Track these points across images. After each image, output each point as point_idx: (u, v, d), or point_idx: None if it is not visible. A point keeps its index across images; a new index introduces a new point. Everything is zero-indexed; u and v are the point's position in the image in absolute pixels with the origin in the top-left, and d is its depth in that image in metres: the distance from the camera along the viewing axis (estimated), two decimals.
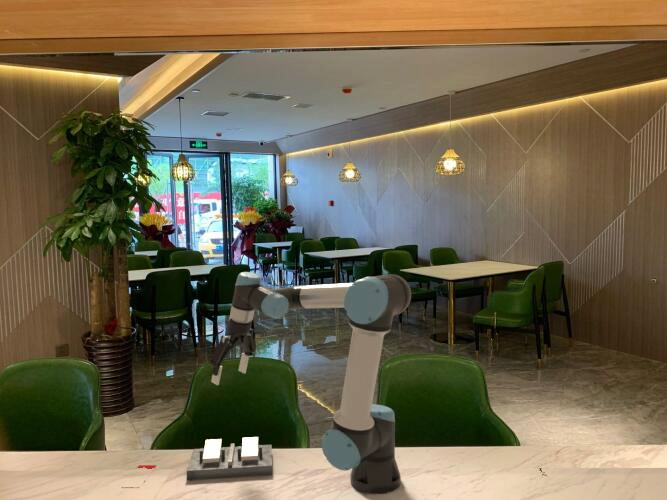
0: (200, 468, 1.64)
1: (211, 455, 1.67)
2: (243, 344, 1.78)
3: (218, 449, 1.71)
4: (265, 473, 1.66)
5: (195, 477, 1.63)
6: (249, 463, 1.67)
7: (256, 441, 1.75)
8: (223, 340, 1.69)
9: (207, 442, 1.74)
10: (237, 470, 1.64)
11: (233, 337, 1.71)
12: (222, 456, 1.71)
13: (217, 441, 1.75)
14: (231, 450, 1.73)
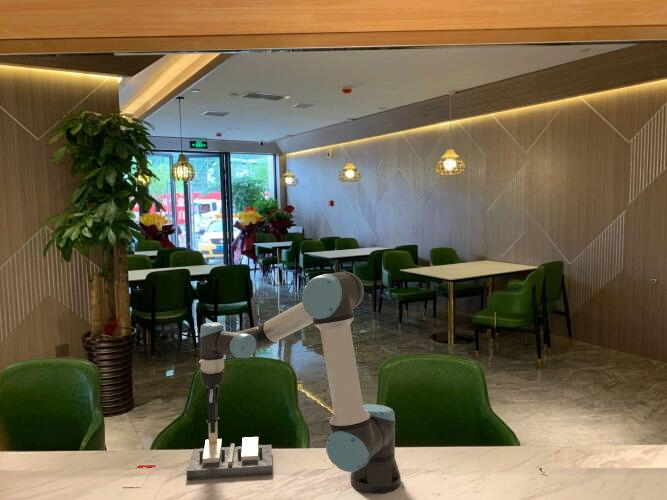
0: (200, 468, 1.64)
1: (211, 455, 1.67)
2: None
3: (218, 449, 1.71)
4: (265, 473, 1.66)
5: (195, 477, 1.63)
6: (249, 463, 1.67)
7: (256, 441, 1.75)
8: (211, 401, 1.69)
9: (207, 442, 1.74)
10: (237, 470, 1.64)
11: (214, 390, 1.71)
12: (222, 456, 1.71)
13: (217, 441, 1.75)
14: (231, 450, 1.73)
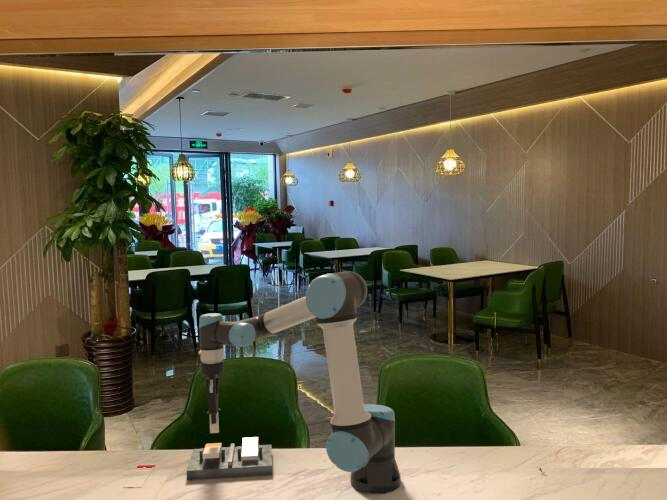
0: (200, 468, 1.64)
1: (211, 451, 1.68)
2: None
3: (218, 448, 1.71)
4: (265, 473, 1.66)
5: (195, 477, 1.63)
6: (249, 463, 1.67)
7: (256, 441, 1.75)
8: (211, 391, 1.68)
9: (207, 445, 1.74)
10: (237, 470, 1.64)
11: (215, 380, 1.71)
12: (222, 456, 1.71)
13: (217, 444, 1.75)
14: (231, 450, 1.73)
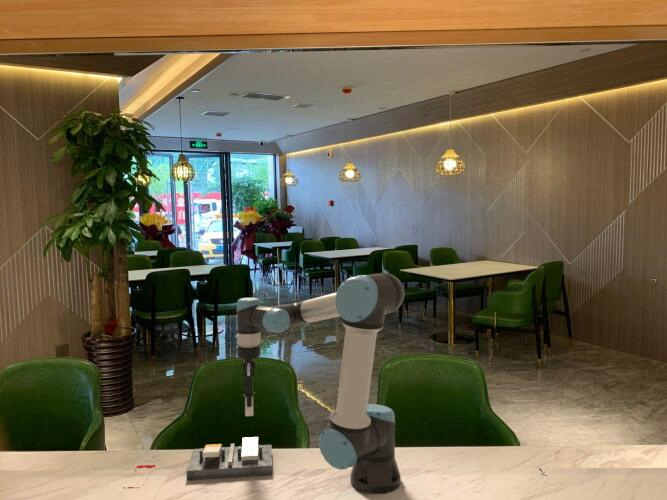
0: (200, 468, 1.64)
1: (211, 451, 1.68)
2: None
3: (218, 448, 1.71)
4: (265, 473, 1.66)
5: (195, 477, 1.63)
6: (249, 463, 1.67)
7: (256, 441, 1.75)
8: (248, 375, 1.70)
9: (207, 446, 1.74)
10: (237, 470, 1.64)
11: (251, 364, 1.72)
12: (222, 456, 1.71)
13: (217, 445, 1.75)
14: (231, 450, 1.73)
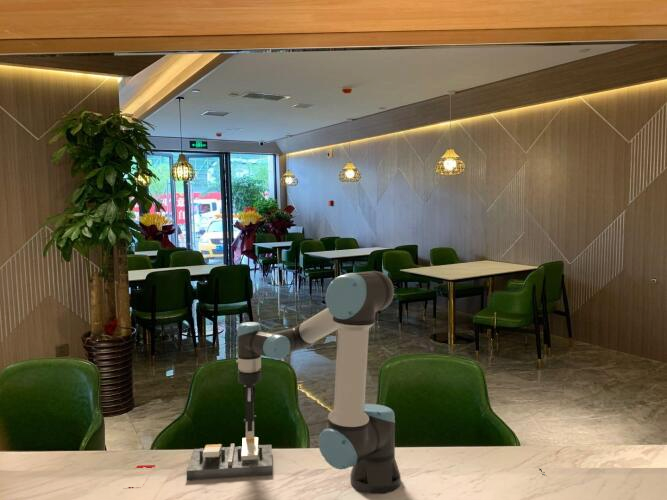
0: (200, 468, 1.64)
1: (211, 450, 1.68)
2: None
3: (218, 448, 1.71)
4: (265, 473, 1.66)
5: (195, 477, 1.63)
6: (249, 463, 1.67)
7: (256, 441, 1.75)
8: (249, 400, 1.70)
9: (207, 446, 1.74)
10: (237, 470, 1.64)
11: (252, 389, 1.73)
12: (222, 456, 1.71)
13: (217, 445, 1.75)
14: (231, 450, 1.73)
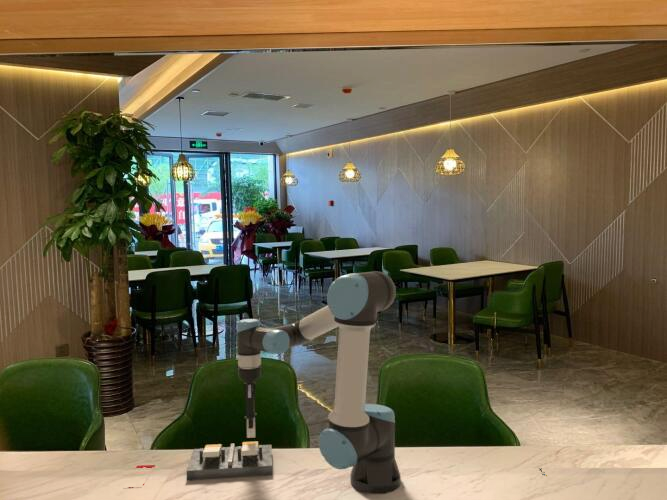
0: (200, 468, 1.64)
1: (211, 450, 1.68)
2: None
3: (218, 448, 1.71)
4: (265, 473, 1.66)
5: (195, 477, 1.63)
6: (249, 463, 1.67)
7: (256, 443, 1.75)
8: (249, 396, 1.70)
9: (207, 446, 1.74)
10: (237, 470, 1.64)
11: (252, 386, 1.72)
12: (222, 456, 1.71)
13: (217, 445, 1.75)
14: (231, 450, 1.73)
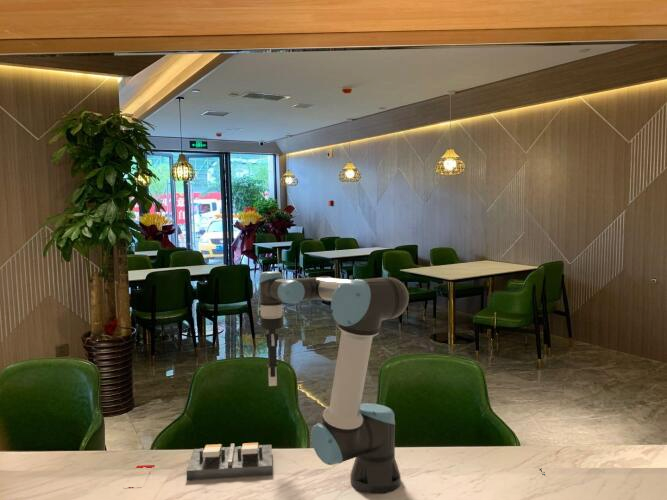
0: (200, 468, 1.64)
1: (211, 450, 1.68)
2: None
3: (218, 448, 1.71)
4: (265, 473, 1.66)
5: (195, 477, 1.63)
6: (249, 463, 1.67)
7: (256, 444, 1.75)
8: (273, 344, 1.76)
9: (207, 446, 1.74)
10: (237, 470, 1.64)
11: (275, 335, 1.78)
12: (222, 456, 1.71)
13: (217, 445, 1.75)
14: (231, 450, 1.73)
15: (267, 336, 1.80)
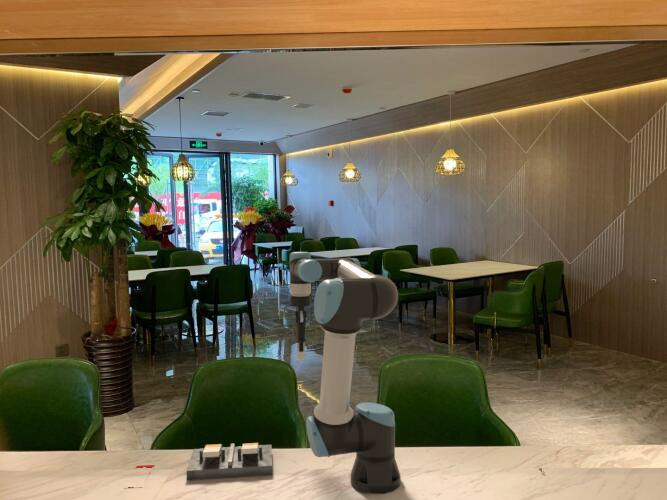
0: (200, 468, 1.64)
1: (211, 450, 1.68)
2: None
3: (218, 448, 1.71)
4: (265, 473, 1.66)
5: (195, 477, 1.63)
6: (249, 463, 1.67)
7: (256, 444, 1.75)
8: (302, 321, 1.85)
9: (207, 446, 1.74)
10: (237, 470, 1.64)
11: (304, 312, 1.88)
12: (222, 456, 1.71)
13: (217, 445, 1.75)
14: (231, 450, 1.73)
15: (296, 313, 1.89)
